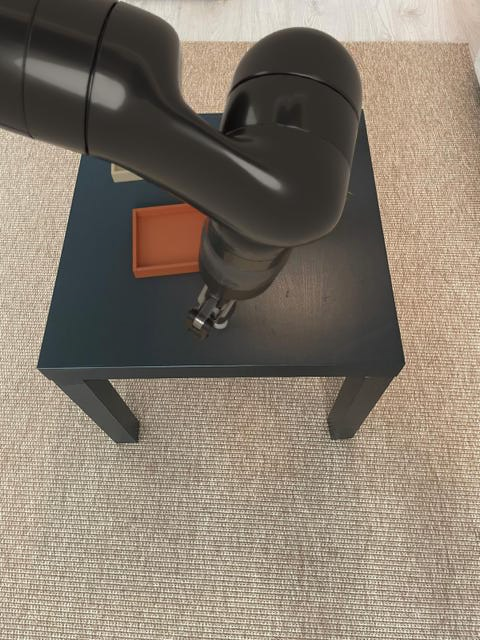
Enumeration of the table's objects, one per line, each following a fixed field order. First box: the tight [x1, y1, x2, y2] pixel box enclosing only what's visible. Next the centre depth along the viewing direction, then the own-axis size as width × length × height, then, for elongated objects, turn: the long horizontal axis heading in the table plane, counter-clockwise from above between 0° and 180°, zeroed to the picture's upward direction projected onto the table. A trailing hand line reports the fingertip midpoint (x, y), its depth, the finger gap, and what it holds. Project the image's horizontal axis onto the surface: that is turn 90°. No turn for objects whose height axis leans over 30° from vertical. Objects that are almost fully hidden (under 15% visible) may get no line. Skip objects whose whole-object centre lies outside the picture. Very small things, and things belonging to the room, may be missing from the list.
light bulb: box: [197, 300, 237, 330], centre depth 73 cm, size 6×6×10 cm
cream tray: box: [110, 163, 145, 183], centre depth 93 cm, size 11×11×2 cm
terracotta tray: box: [132, 202, 206, 279], centre depth 84 cm, size 13×13×2 cm
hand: (225, 291), depth 57 cm, fingers open, 8 cm apart
